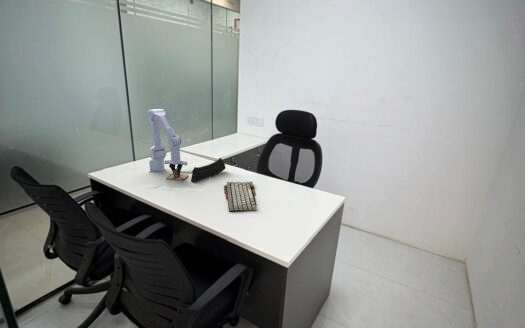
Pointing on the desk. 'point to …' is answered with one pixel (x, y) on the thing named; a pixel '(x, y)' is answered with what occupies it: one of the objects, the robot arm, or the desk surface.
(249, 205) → the mechanical keyboard
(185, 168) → the ticket
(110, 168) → the desk surface
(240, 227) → the desk surface
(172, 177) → the stub
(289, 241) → the desk surface
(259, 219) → the desk surface
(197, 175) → the black curved slab
